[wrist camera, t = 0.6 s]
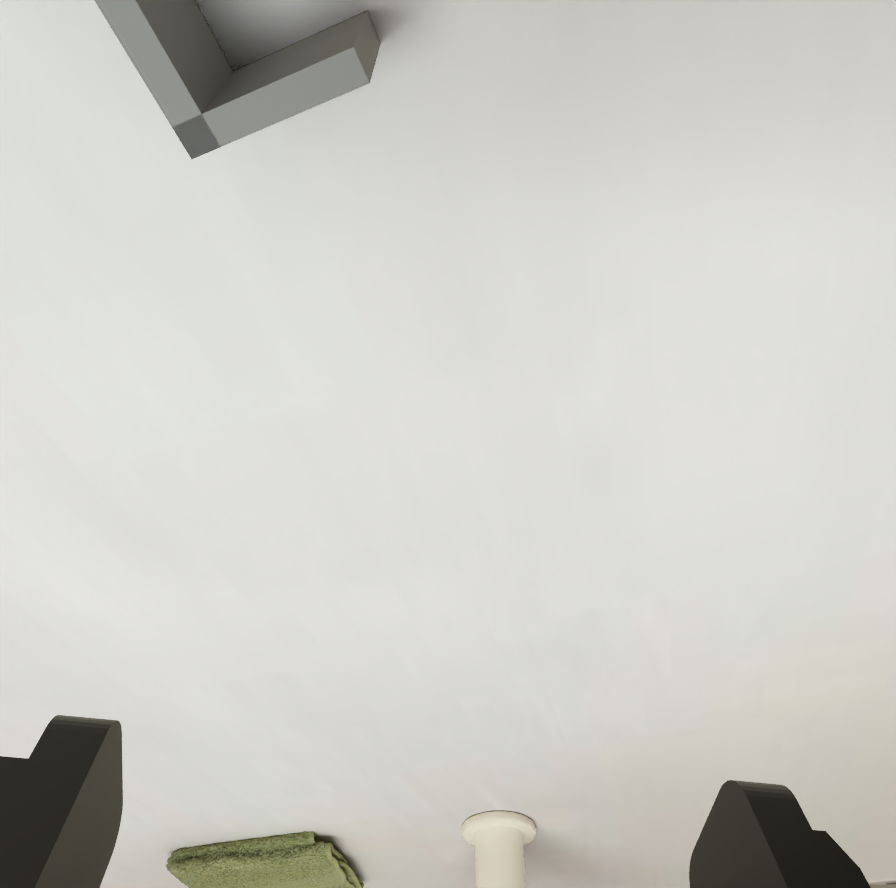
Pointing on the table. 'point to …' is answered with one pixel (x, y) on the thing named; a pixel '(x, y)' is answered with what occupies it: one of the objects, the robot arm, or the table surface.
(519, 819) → the candle
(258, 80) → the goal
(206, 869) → the washcloth
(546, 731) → the table surface
